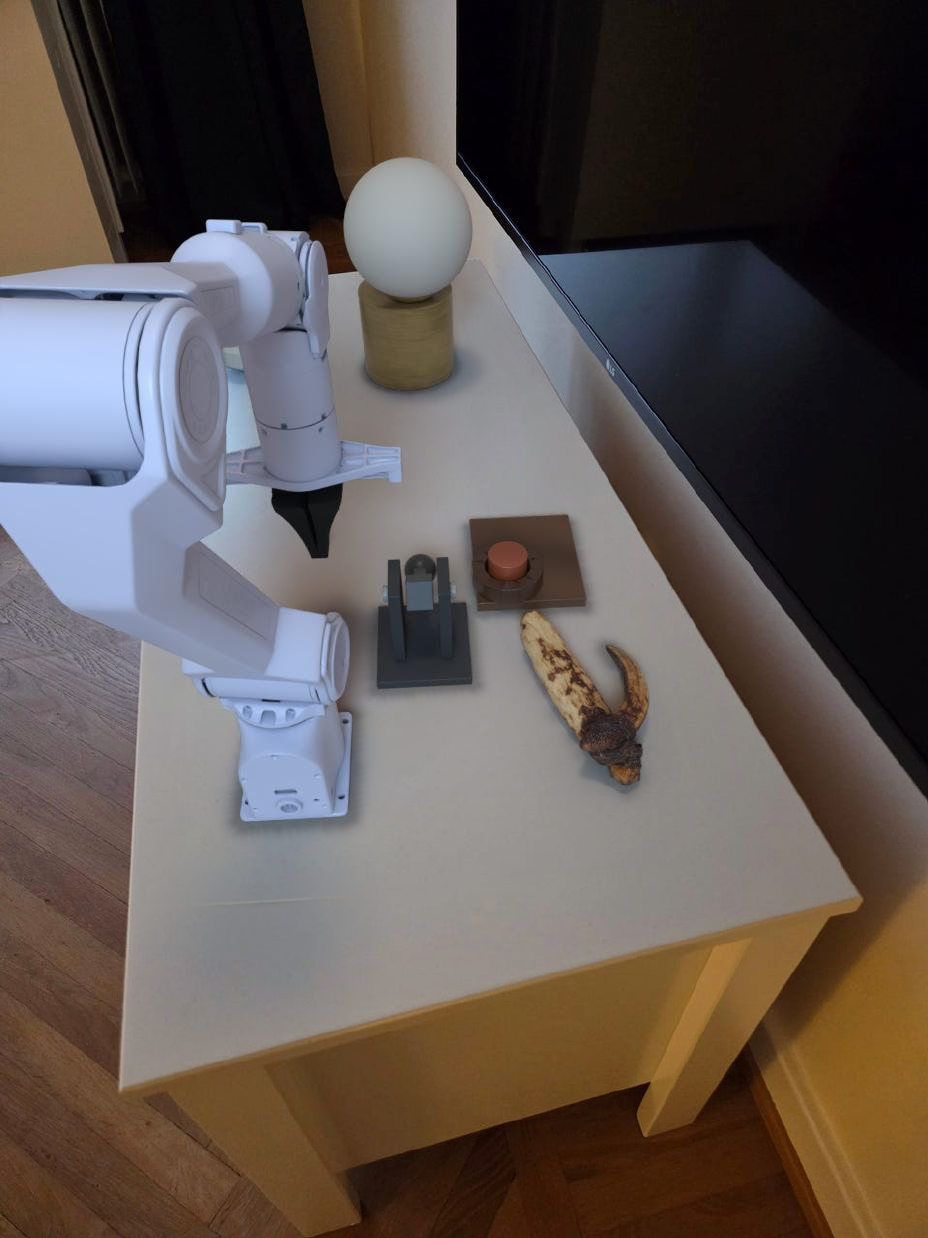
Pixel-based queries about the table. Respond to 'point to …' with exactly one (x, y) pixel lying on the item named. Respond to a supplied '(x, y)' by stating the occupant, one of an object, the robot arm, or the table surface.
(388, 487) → the table surface
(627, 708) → the lashed bone hook
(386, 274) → the lamp
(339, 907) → the table surface
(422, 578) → the switch lever
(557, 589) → the control block
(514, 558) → the warm button
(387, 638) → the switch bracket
